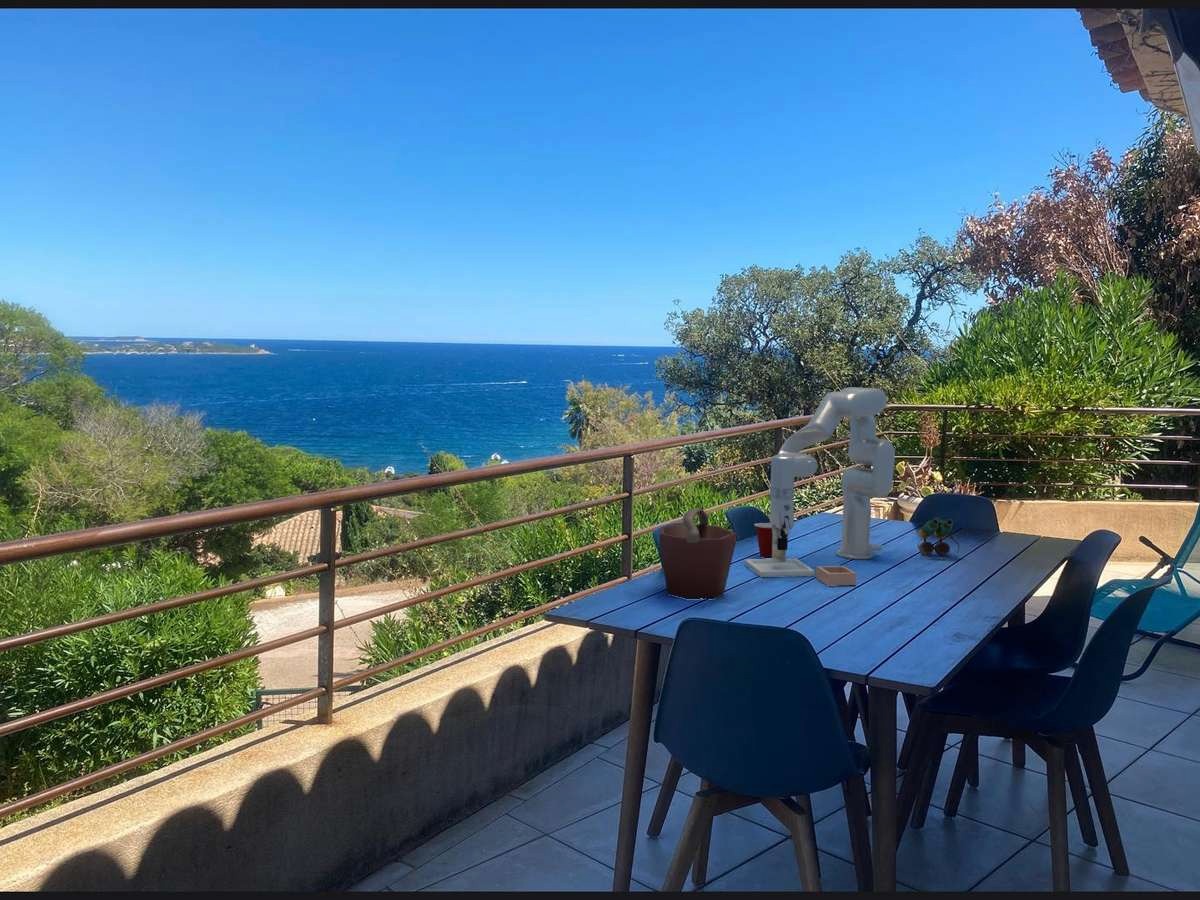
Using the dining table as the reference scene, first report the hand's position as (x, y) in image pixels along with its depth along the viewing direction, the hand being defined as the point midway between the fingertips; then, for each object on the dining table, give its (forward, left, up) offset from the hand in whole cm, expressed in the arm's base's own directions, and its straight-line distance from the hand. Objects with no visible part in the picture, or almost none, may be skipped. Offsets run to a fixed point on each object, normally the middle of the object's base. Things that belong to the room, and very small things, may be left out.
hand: (779, 547), depth 268 cm
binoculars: (-64, -15, -8) cm, 66 cm away
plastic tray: (0, 0, -8) cm, 8 cm away
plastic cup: (-3, -18, -8) cm, 20 cm away
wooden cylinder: (0, 0, -4) cm, 4 cm away
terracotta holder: (-13, +15, -8) cm, 21 cm away
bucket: (+35, +22, -8) cm, 42 cm away
